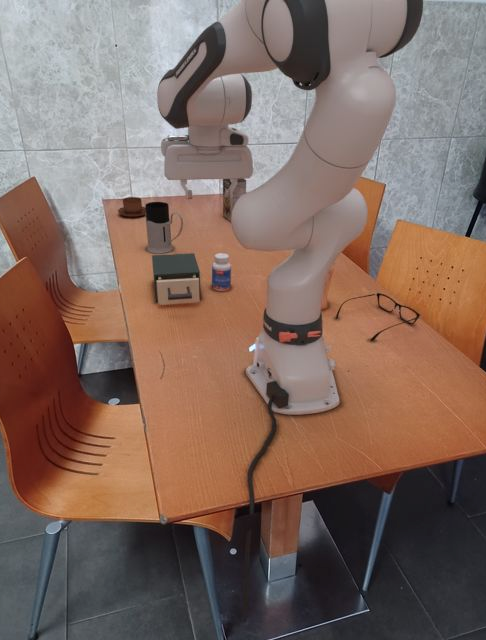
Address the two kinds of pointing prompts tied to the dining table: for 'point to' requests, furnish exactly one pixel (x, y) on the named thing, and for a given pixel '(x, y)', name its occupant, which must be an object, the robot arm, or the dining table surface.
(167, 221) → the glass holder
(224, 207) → the coffee box
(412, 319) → the eyeglasses
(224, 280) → the pill bottle
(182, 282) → the drawer
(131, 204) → the brown round flanged piece
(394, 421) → the dining table surface
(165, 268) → the cabinet
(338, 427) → the dining table surface
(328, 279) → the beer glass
